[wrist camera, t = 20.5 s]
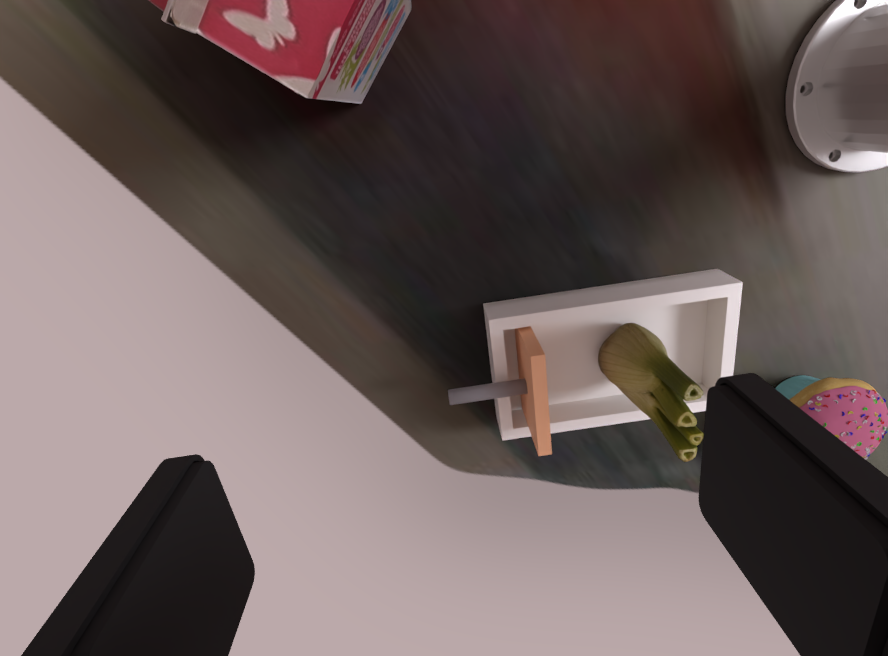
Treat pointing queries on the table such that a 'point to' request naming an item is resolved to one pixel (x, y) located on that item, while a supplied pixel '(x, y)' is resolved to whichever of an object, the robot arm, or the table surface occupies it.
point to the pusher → (520, 389)
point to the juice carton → (300, 39)
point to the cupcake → (841, 409)
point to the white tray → (592, 321)
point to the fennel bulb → (653, 384)
